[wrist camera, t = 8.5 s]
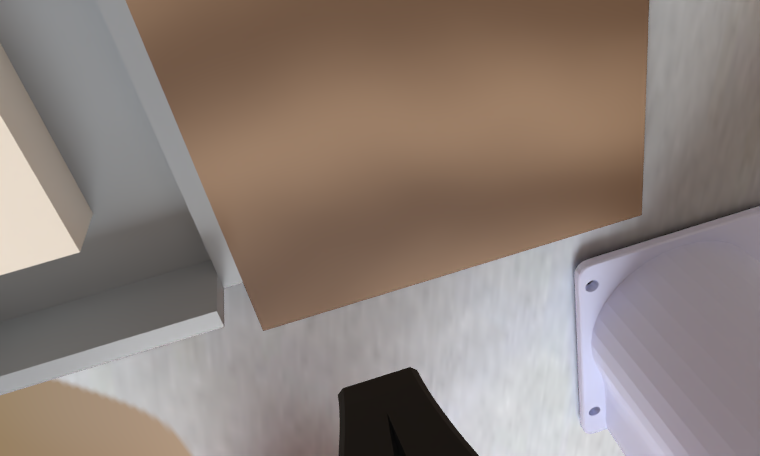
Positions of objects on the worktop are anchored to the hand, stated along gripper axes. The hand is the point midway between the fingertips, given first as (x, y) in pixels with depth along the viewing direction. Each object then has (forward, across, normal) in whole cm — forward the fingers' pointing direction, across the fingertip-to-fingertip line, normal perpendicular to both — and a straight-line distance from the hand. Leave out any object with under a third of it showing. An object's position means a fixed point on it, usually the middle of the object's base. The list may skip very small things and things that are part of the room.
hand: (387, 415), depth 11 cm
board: (+9, -4, -4) cm, 11 cm away
